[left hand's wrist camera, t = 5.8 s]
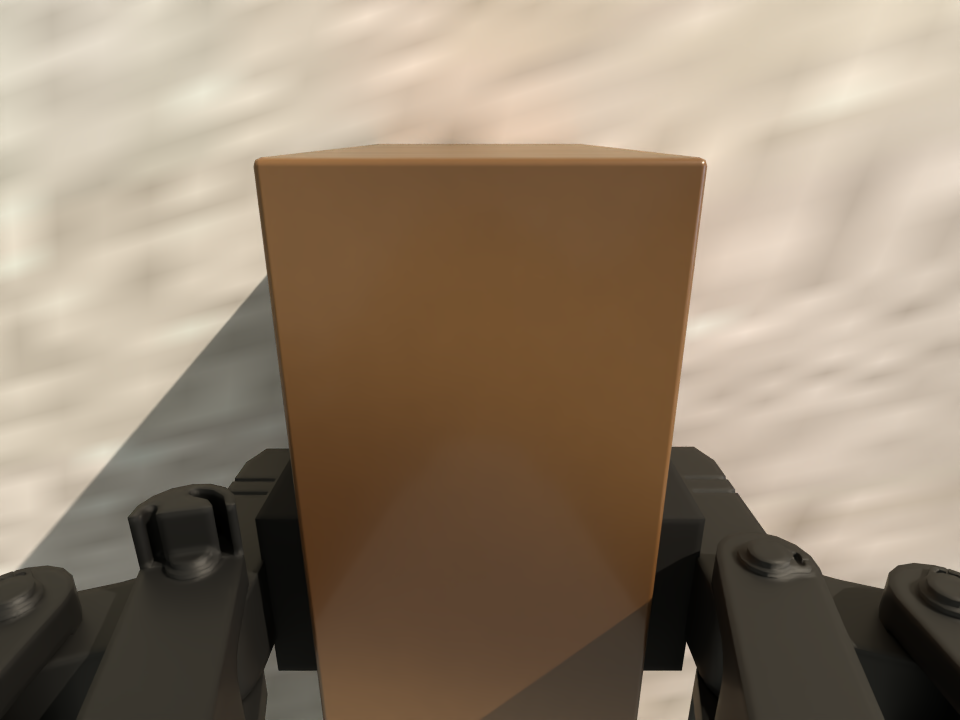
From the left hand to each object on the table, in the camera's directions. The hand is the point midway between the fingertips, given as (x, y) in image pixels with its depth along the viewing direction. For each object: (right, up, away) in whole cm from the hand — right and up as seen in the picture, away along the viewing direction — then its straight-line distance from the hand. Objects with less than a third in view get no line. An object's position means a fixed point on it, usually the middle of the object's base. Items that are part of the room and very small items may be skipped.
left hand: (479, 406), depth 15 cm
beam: (0, -28, +11) cm, 30 cm away
